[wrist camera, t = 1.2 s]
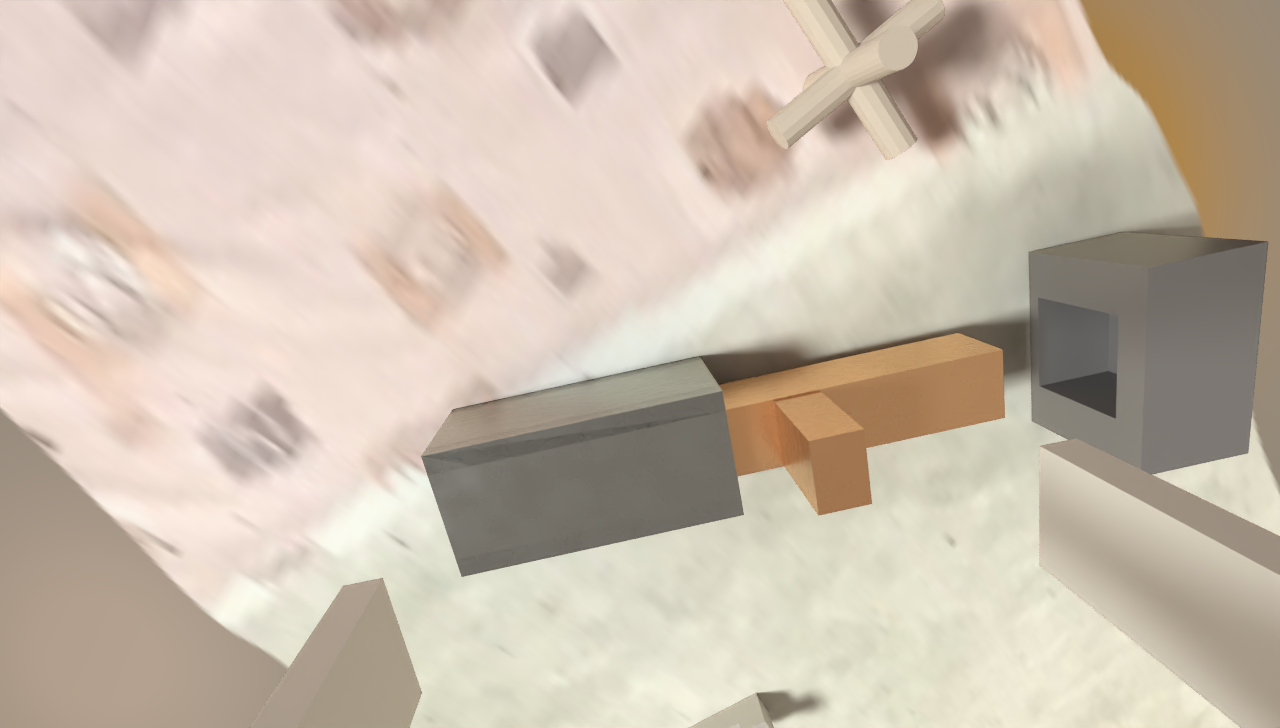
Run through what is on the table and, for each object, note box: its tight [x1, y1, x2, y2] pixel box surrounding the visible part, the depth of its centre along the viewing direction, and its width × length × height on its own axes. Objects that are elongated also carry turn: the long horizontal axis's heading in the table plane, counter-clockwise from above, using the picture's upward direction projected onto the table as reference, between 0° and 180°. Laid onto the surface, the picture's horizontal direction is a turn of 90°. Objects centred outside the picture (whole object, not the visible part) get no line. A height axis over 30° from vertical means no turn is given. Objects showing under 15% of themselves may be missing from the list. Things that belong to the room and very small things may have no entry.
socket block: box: [1029, 232, 1268, 475], centre depth 37 cm, size 12×6×9 cm, turn 12°
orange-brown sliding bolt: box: [719, 333, 1005, 515], centre depth 35 cm, size 4×30×10 cm, turn 102°
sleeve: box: [421, 356, 744, 577], centre depth 38 cm, size 8×17×8 cm, turn 102°
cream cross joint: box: [767, 0, 945, 160], centre depth 31 cm, size 10×10×10 cm
